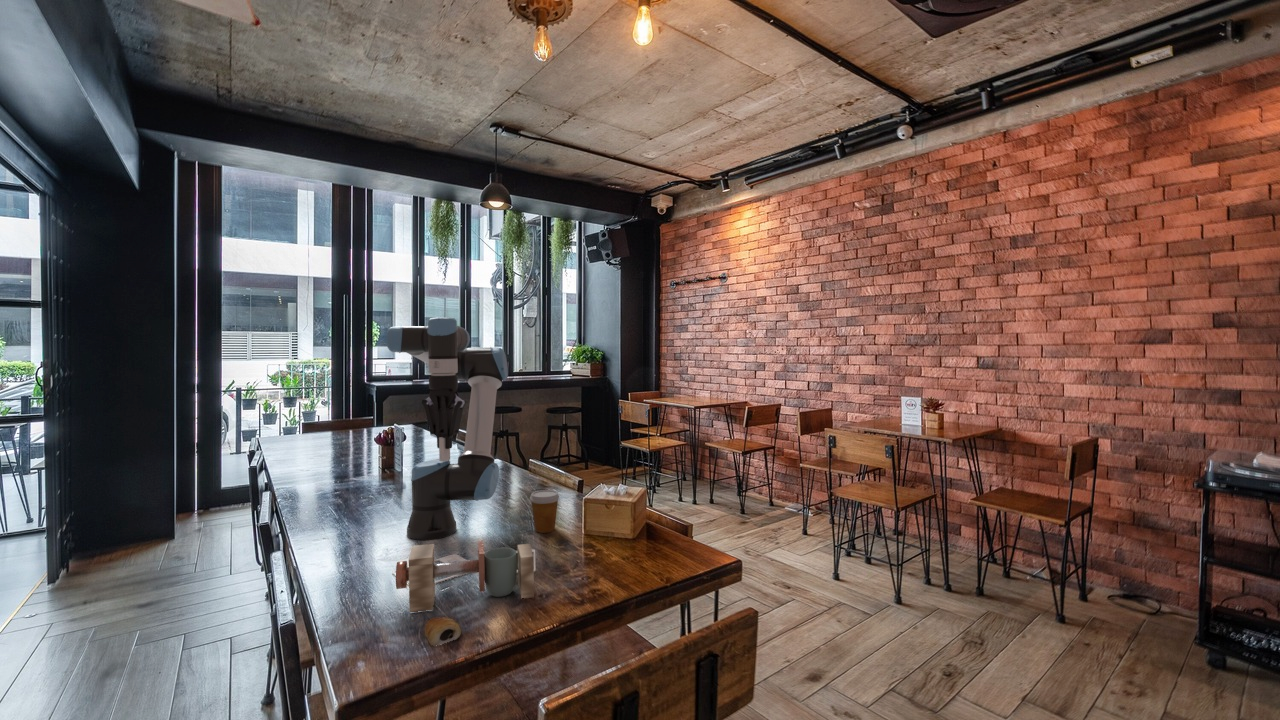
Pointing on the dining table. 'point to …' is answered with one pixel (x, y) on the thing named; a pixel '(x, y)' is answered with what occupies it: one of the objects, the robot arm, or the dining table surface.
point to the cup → (500, 571)
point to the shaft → (447, 569)
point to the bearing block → (421, 578)
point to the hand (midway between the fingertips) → (444, 460)
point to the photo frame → (447, 560)
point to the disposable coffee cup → (544, 510)
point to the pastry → (441, 630)
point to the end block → (525, 571)
